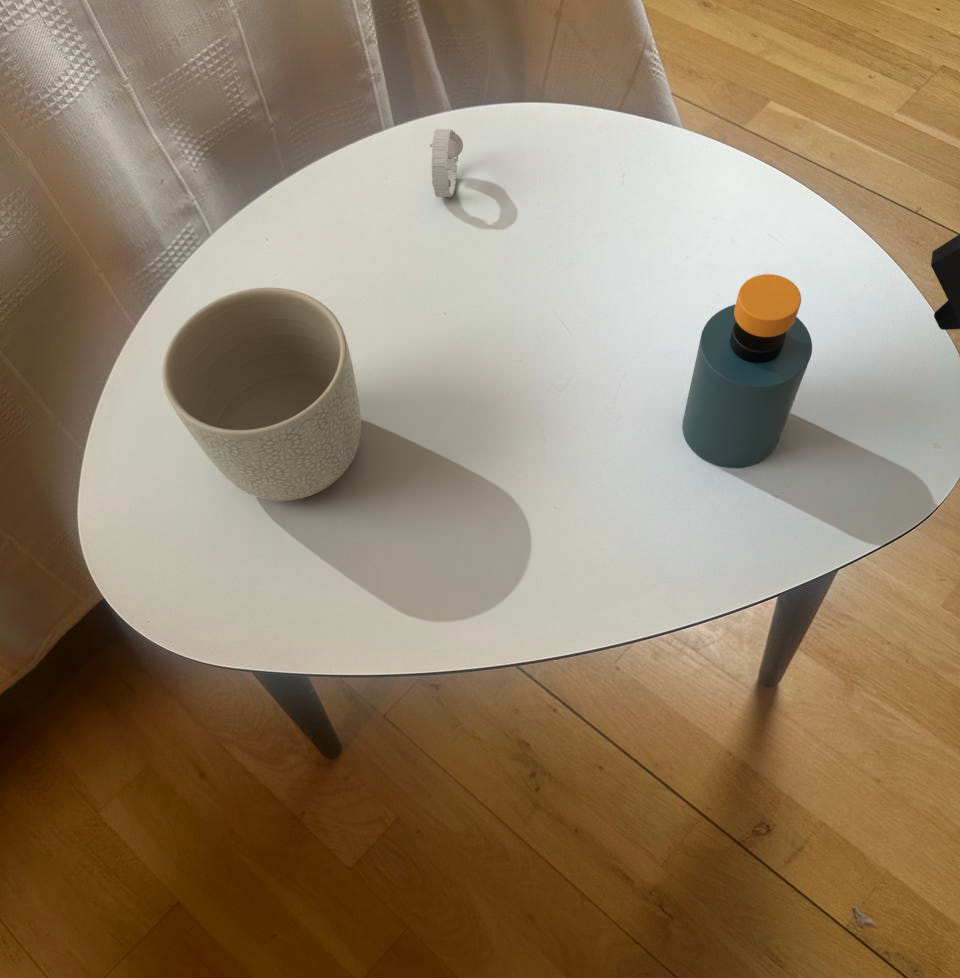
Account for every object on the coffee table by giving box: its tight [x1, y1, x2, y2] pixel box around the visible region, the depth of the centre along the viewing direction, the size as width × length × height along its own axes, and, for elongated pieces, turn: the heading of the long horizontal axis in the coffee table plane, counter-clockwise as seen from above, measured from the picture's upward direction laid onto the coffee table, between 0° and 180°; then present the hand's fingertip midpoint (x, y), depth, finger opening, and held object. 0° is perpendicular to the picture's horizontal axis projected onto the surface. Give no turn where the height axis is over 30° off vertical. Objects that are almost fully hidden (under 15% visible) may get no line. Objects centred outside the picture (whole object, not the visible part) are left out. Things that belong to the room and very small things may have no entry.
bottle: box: [681, 303, 813, 469], centre depth 63 cm, size 7×7×10 cm
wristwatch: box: [429, 128, 464, 198], centre depth 78 cm, size 3×5×5 cm, turn 173°
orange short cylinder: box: [734, 273, 802, 337], centre depth 56 cm, size 4×4×2 cm
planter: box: [161, 287, 362, 502], centre depth 64 cm, size 12×12×11 cm
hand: (940, 320), depth 54 cm, fingers closed
